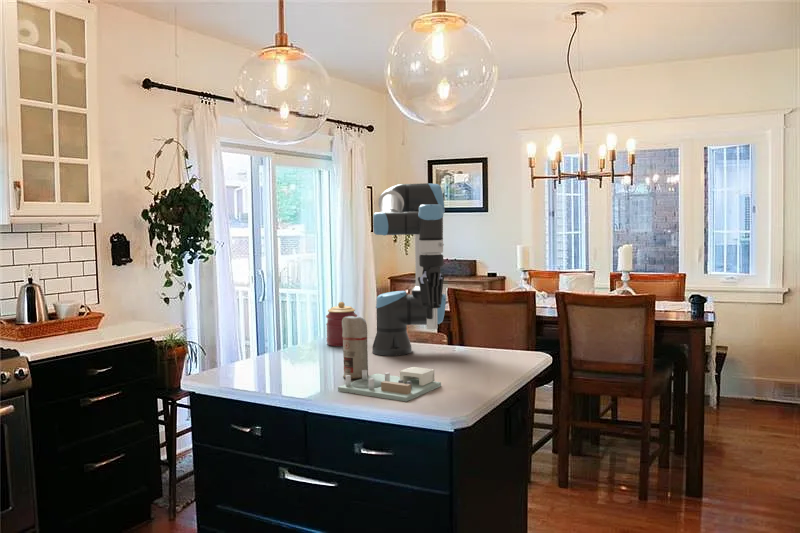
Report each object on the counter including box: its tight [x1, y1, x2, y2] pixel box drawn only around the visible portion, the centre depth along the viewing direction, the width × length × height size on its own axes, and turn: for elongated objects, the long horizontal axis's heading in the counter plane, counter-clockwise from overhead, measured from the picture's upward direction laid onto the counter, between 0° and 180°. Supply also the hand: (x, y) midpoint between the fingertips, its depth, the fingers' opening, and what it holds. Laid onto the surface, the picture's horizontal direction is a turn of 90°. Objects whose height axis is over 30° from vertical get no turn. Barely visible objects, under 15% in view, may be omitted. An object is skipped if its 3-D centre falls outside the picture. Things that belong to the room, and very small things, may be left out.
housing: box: [399, 366, 435, 386], centre depth 200 cm, size 8×7×4 cm
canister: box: [325, 301, 358, 347], centre depth 273 cm, size 13×13×18 cm
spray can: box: [342, 316, 370, 380], centre depth 213 cm, size 8×8×20 cm
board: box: [337, 370, 442, 403], centre depth 198 cm, size 24×20×4 cm
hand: (432, 328), depth 207 cm, fingers closed
